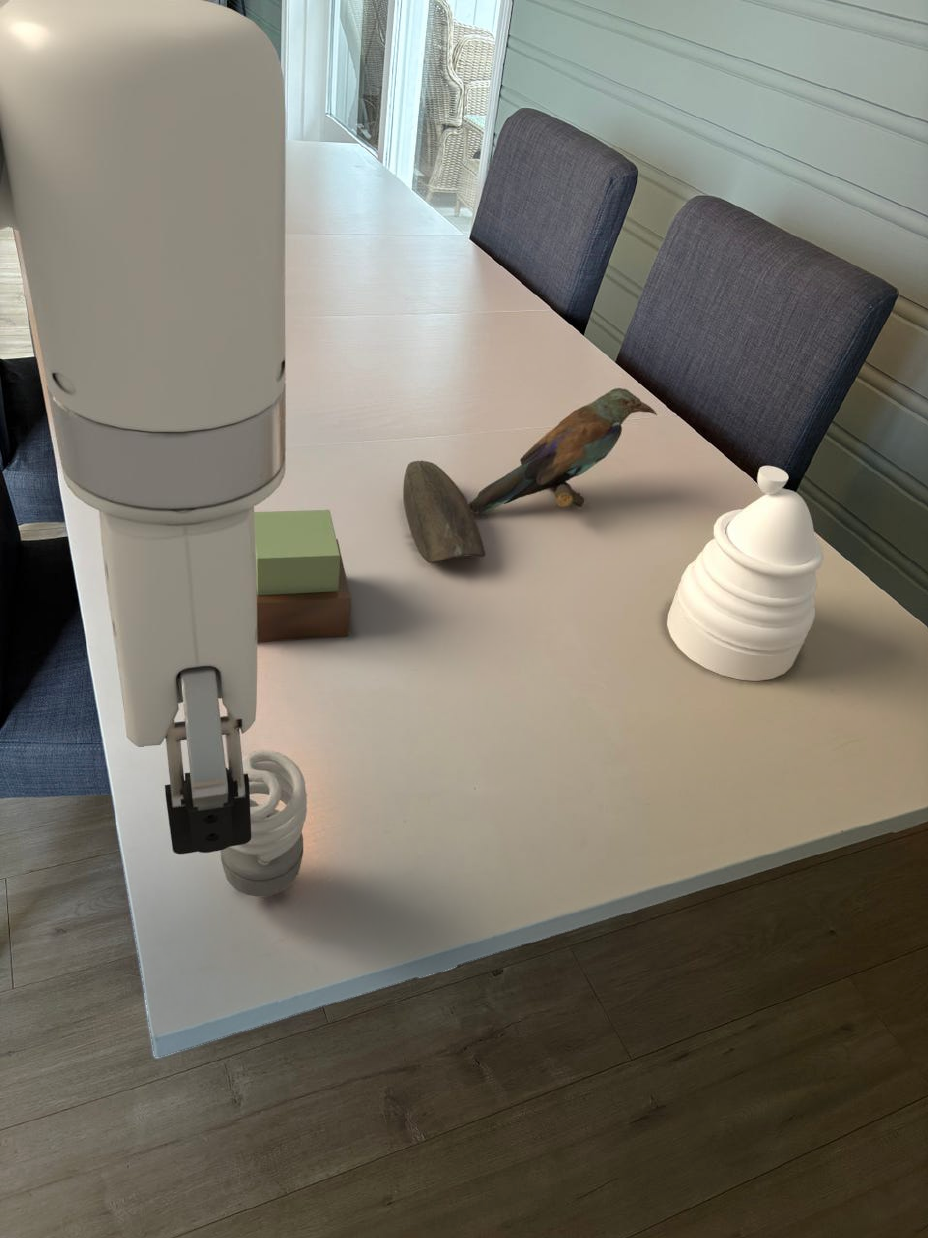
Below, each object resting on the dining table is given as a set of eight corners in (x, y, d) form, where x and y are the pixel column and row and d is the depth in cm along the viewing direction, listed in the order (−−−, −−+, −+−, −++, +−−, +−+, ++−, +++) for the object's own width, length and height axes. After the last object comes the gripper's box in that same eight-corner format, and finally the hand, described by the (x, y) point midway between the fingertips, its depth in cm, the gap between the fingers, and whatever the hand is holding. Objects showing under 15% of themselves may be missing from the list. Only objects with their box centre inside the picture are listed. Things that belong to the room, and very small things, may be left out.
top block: (257, 595, 79) (256, 558, 76) (252, 547, 84) (251, 511, 81) (338, 591, 81) (340, 555, 78) (328, 544, 86) (329, 509, 83)
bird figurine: (492, 538, 96) (607, 377, 90) (450, 491, 103) (554, 337, 97) (569, 570, 106) (678, 426, 100) (526, 525, 112) (625, 387, 106)
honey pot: (655, 653, 87) (712, 493, 75) (678, 580, 96) (732, 428, 85) (790, 698, 84) (870, 539, 73) (800, 618, 94) (872, 467, 82)
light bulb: (213, 863, 63) (203, 748, 56) (292, 842, 66) (293, 729, 58) (231, 933, 60) (223, 820, 52) (314, 909, 62) (318, 797, 54)
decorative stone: (488, 574, 93) (494, 541, 90) (427, 579, 91) (431, 545, 89) (443, 483, 105) (447, 452, 103) (389, 486, 103) (392, 454, 101)
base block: (247, 642, 81) (246, 603, 78) (242, 579, 87) (240, 541, 84) (349, 636, 83) (351, 598, 80) (335, 575, 90) (337, 538, 87)
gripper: (62, 322, 36) (114, 642, 47) (44, 595, 24) (120, 941, 35) (254, 323, 39) (261, 628, 49) (328, 572, 26) (315, 904, 37)
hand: (203, 757), depth 42 cm, fingers open, 9 cm apart
